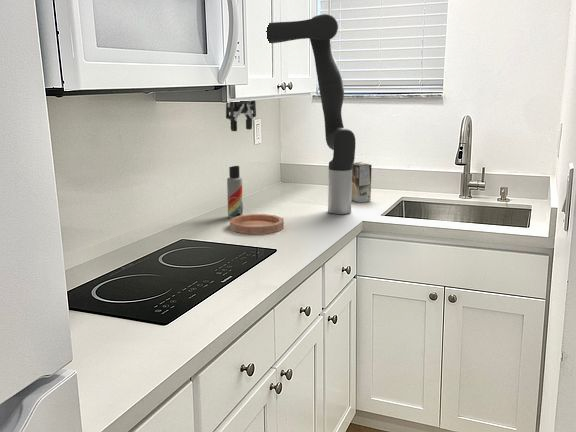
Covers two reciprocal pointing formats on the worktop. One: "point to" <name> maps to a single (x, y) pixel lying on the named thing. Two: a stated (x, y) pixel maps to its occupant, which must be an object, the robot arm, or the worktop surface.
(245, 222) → the round tray
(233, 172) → the lotion bottle
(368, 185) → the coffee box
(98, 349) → the worktop surface
